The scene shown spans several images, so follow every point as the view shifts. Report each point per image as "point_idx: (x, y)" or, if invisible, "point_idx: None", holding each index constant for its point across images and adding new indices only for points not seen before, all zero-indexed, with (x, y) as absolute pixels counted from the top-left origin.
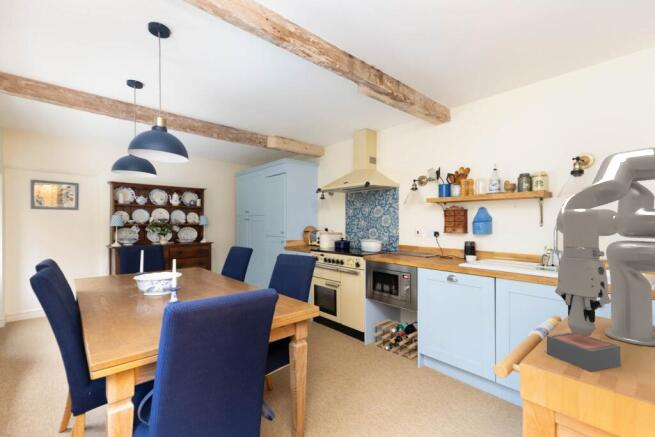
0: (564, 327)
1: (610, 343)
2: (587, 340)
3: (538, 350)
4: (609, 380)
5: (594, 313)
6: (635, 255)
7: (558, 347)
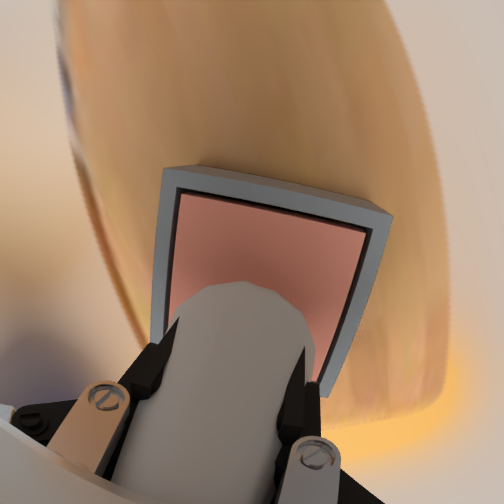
0: None
1: (351, 208)
2: (266, 266)
3: (147, 307)
4: (373, 366)
5: (317, 430)
6: None
7: None
